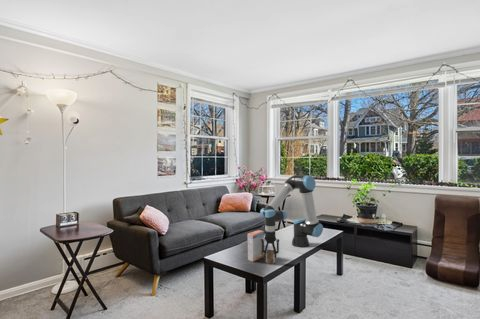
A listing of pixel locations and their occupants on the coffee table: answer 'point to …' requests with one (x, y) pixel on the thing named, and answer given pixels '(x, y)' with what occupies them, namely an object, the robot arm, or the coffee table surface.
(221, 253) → the coffee table surface
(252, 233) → the cracker box
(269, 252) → the walnut block
